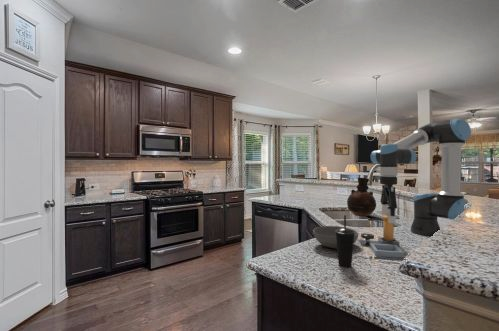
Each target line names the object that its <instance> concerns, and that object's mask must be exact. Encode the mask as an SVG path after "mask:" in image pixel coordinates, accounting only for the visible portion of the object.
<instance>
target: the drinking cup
mask: <svg viewBox="0 0 499 331" xmlns="http://www.w3.org/2000/svg"><path fill="white" fill-rule="evenodd" d="M343 227H344V228H340V229H337V230H335V233H336V240H337V249H336V251H337V260H338V266H339V267H342V268H351V267H352V264H353V263H352V261H353V252H354V244H355V243H354V234H355V231H356V230H355V231H353V230H354V229H353V230H351V229H352V228H349V227H347V215H343ZM348 228H349V229H348Z"/></svg>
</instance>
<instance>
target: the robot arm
mask: <svg viewBox="0 0 499 331" xmlns="http://www.w3.org/2000/svg"><path fill="white" fill-rule="evenodd" d="M471 135H472V129H471V125H470V124H469V123H468V121H467V120H465V119H464V118H451V119H444V120H439V121H433V122H432V121H431V122H429V123H426V124H424V125H423V126H420V127H419V128H417V129H415V130H414V131H413V132H412V133H411V134H409V135H407V136H405V137H403V138H402V139H400V140H398V141H396V142H394V143H384V144H381V146H380V150H379V149H377V150H372V152H371V153H370V161H371V162H372V163H373V164H375V165H379V169H378V172H379V175H380V177H379V184H380V185H382V187H381V188H382V189H381V195H380V204H381V218H382V216H383V215H389V217H388V223H394V224H396V209H397V208H398V204H397V203H398V202H397V197H396V187H395V185H396V186H397V185H398V177H397V176H398V165H412V164H414V163H415V162H416V161H417V155H418V154H417V152H416V151H415V150H413V149H415V148H417V147H419V146H424V145H427V144H430V143H438V145H439V147H441V170H440V171H441V173H440V174H441V176H440V177H441V178H440V179H441V180H440V191H439V192H437V193H417V194H415V195H414V198H413V199H414V200H413V221H412V222H411V225H410V232H411V233H412V234H413V233H414V234H416V235H422V236H423V235H424V236H429V237H430V236H432V235H433V234H434V233H435V232H437V231H438V230H440V229H441V227H440V224H439V221H438V218H442V219H448V220H451V221H455V220H454V219H455V218H456V217H457V216H458V215H460V214H461V213H462V212H463V211H464V205H465V204H467V203H469V201H468V200H467V199H465V198H464V196H465V195H464V194H463V193H462V192H461V175H462V148H463V146H465V144H466V141H467V140H469V139H470V138H471Z"/></svg>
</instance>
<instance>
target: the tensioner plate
mask: <svg viewBox="0 0 499 331" xmlns="http://www.w3.org/2000/svg"><path fill="white" fill-rule="evenodd" d="M360 238H361V239H357V241H358V243H359V244H360V246H361V247H362V248H370V243H372V244H389V245H397V246H398V247H399V248H400V249H401V250H404V248H403V246H401V245H400V241H399V240H398V239H396V238H395V237H394V241H383V236H378V237H377V239H378V240H374V239H375V235H374V234H372V233H367V232H366V233H361V234H360Z"/></svg>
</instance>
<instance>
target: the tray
mask: <svg viewBox="0 0 499 331" xmlns="http://www.w3.org/2000/svg"><path fill="white" fill-rule="evenodd" d="M369 248H370V250H371V251H372V253H373V255H374V256H373V258H374V259H375V260H380V261H381V260H382V261H383V260H384V261H395V262H397V261H399V262H403V261H402V260H403V259H405V251H403V249H400V248H399V247H398V246H397V245H389V244H372V243H370V247H369Z"/></svg>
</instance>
